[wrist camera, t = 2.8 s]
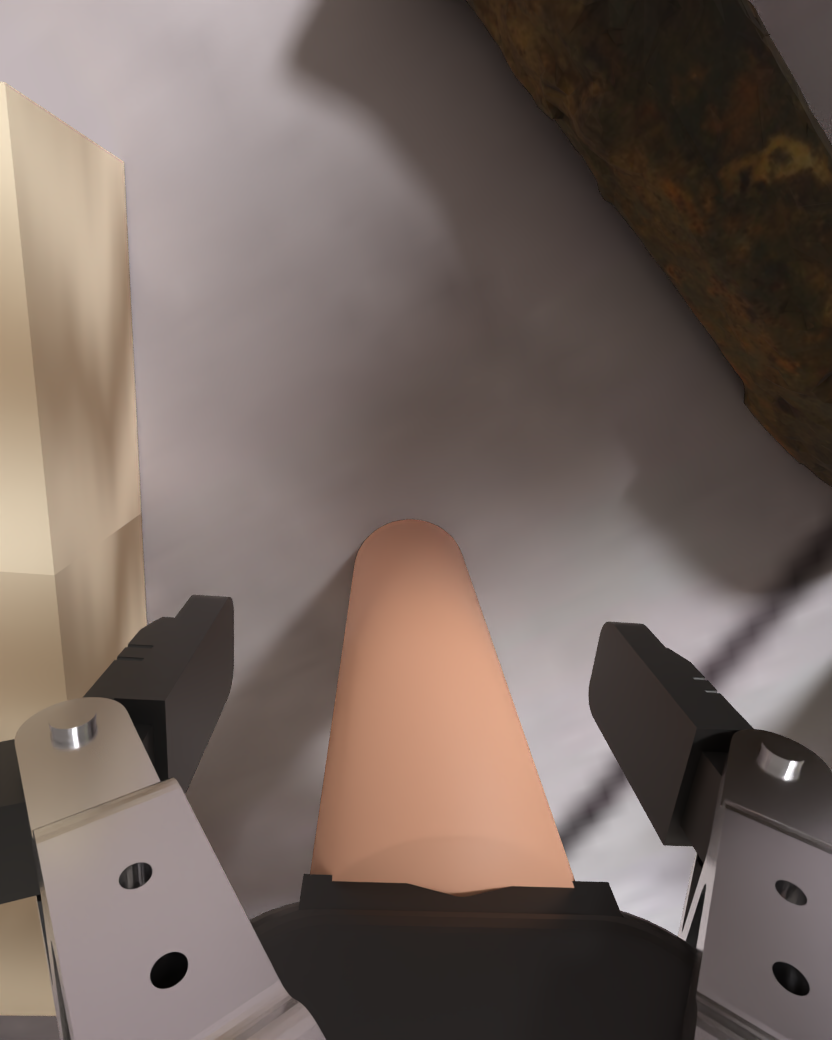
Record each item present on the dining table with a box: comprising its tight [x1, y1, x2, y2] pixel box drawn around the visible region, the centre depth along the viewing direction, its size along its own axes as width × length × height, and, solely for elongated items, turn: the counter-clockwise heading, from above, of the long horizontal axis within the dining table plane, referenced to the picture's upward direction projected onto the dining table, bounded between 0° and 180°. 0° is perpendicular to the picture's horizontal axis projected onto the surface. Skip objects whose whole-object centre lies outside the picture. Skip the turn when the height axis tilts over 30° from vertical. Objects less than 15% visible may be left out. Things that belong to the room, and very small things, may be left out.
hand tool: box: [466, 0, 832, 487], centre depth 11 cm, size 19×4×5 cm, turn 40°
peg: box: [310, 519, 575, 897], centre depth 11 cm, size 3×3×10 cm
